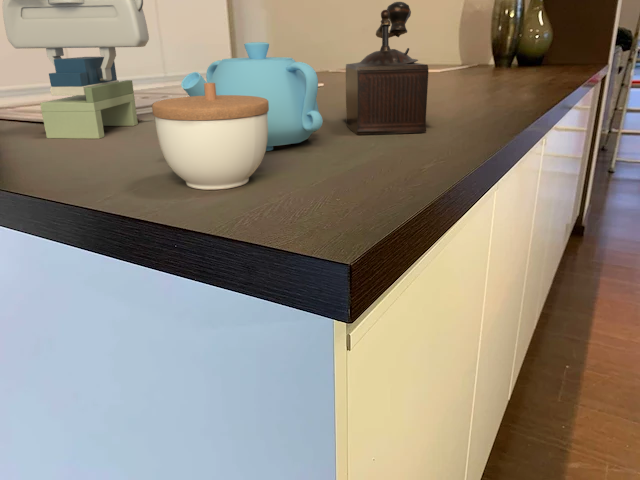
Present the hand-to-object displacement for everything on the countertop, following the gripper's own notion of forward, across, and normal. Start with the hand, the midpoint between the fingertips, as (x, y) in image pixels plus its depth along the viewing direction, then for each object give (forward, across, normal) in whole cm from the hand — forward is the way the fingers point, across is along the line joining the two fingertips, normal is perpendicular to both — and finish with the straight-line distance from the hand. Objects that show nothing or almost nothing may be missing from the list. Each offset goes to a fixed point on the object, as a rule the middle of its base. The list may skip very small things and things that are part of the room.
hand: (85, 80), depth 80 cm
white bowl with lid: (+8, -28, +29) cm, 41 cm away
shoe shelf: (+8, 0, 0) cm, 8 cm away
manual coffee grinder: (+8, -44, -6) cm, 45 cm away
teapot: (+8, -27, +11) cm, 30 cm away
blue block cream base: (+2, 0, 0) cm, 2 cm away
